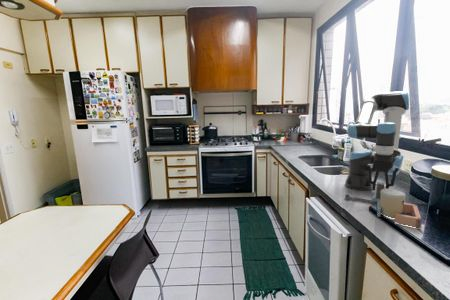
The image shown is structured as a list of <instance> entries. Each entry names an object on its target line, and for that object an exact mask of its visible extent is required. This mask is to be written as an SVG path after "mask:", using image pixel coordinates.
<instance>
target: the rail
mask: <svg viewBox="0 0 450 300" xmlns="http://www.w3.org/2000/svg"><path fill="white" fill-rule="evenodd" d="M344 199H345V200H347V201H352V202H353V201H354V202H358V203H365V204H370V205H376V206H377V202H373V201H372V199H366V198H361V197H353V196H351V193H350V192H349V193H348V192H346V193H345V198H344ZM404 203H406V202H405V201H404Z"/></svg>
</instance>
